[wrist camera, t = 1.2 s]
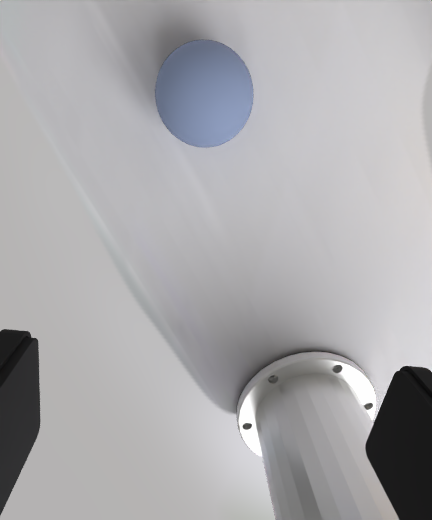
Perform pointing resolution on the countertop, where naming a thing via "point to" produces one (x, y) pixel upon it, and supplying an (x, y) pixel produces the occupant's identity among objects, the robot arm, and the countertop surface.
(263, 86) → the countertop surface
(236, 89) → the blue ball
